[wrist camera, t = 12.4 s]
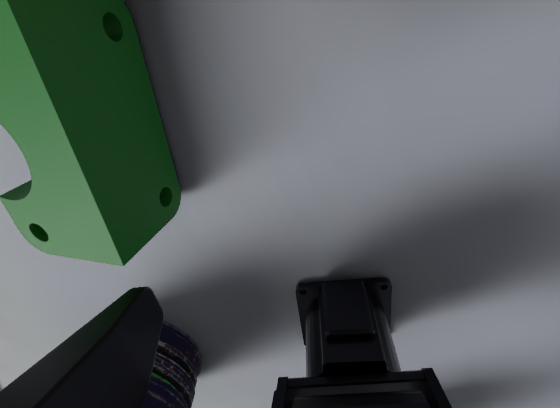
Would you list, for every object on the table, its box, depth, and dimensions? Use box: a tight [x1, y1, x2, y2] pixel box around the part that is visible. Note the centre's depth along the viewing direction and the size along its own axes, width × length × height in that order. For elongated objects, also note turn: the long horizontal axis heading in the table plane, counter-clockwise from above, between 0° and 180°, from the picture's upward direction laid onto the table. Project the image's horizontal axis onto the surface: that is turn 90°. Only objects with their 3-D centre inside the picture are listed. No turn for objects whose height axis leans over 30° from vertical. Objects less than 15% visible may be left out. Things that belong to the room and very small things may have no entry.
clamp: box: [0, 0, 181, 266], centre depth 16 cm, size 12×6×9 cm, turn 0°
